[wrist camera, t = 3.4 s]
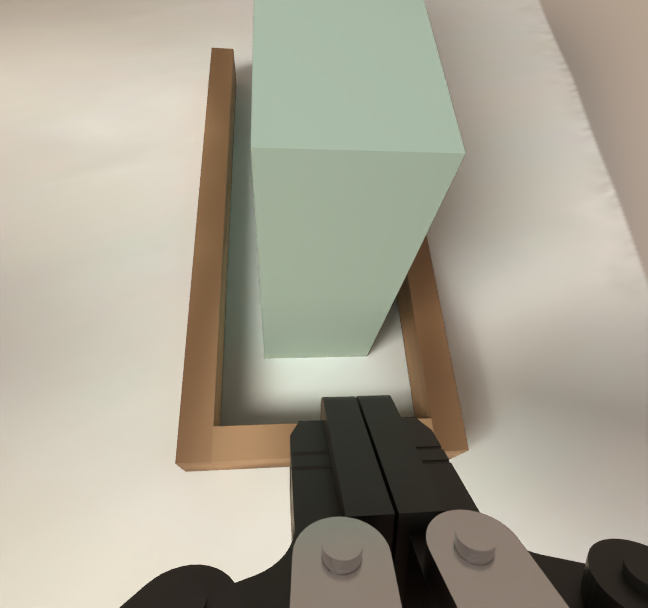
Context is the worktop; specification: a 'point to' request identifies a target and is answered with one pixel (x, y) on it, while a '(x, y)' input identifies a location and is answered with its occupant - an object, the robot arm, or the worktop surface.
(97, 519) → the worktop surface
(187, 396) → the open frame
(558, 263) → the worktop surface
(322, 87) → the pale green rectangular block
